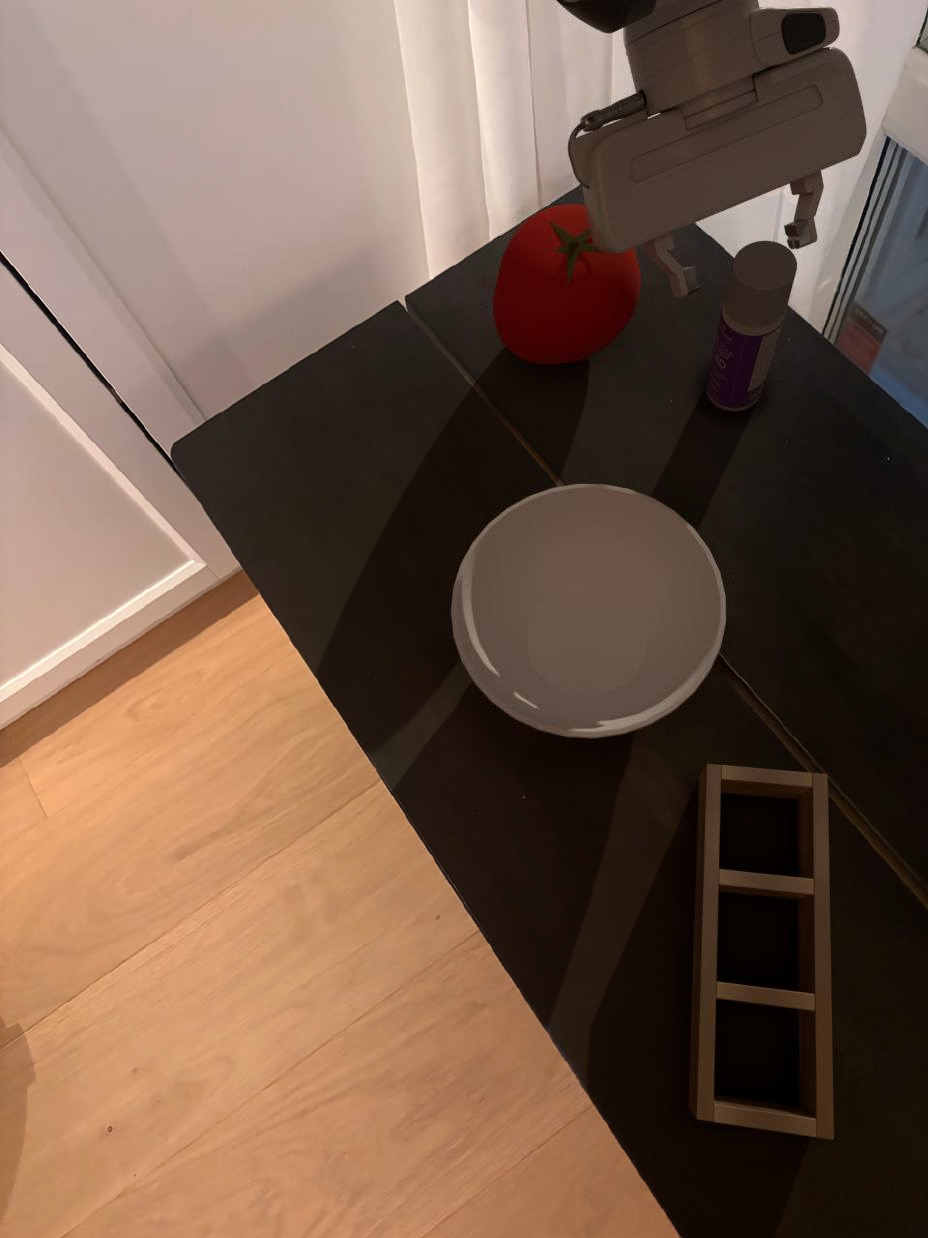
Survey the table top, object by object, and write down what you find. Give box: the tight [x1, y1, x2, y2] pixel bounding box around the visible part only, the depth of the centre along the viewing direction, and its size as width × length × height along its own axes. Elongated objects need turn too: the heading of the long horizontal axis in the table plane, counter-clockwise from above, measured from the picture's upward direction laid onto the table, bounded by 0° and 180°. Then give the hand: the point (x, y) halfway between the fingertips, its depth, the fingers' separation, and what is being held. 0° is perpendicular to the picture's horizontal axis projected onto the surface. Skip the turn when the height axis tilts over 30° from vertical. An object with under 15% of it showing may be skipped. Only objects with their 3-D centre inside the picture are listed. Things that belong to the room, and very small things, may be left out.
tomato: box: [492, 204, 642, 365], centre depth 78 cm, size 12×14×11 cm
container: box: [706, 240, 798, 412], centre depth 72 cm, size 5×5×15 cm
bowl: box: [450, 483, 727, 739], centre depth 69 cm, size 20×19×8 cm
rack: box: [688, 763, 835, 1141], centre depth 61 cm, size 8×22×5 cm, turn 173°
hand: (745, 269), depth 68 cm, fingers open, 8 cm apart
